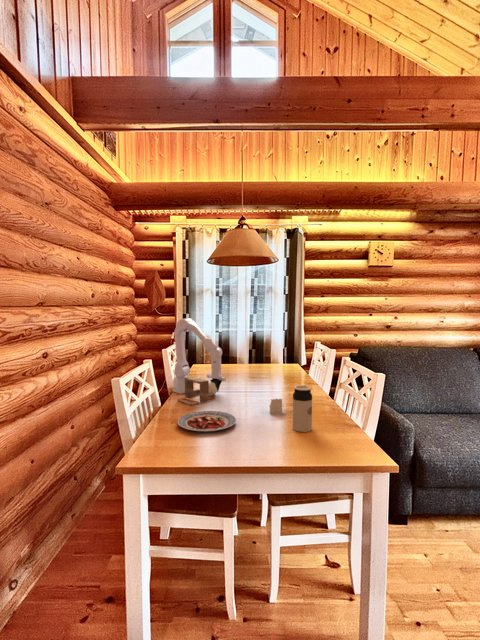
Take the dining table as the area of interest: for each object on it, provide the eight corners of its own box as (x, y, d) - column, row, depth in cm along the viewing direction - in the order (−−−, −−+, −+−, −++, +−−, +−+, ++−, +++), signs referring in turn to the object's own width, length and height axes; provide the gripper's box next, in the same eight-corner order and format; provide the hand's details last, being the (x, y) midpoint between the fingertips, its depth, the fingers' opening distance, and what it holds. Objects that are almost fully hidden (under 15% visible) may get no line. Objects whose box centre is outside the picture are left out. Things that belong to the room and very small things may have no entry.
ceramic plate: (189, 440, 139) (188, 432, 139) (170, 420, 162) (170, 414, 162) (246, 429, 151) (246, 422, 151) (221, 412, 174) (221, 406, 174)
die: (219, 396, 205) (212, 381, 208) (219, 392, 197) (212, 377, 201) (206, 402, 203) (199, 387, 206) (205, 398, 195) (199, 382, 199)
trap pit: (178, 401, 192) (178, 398, 192) (185, 399, 196) (185, 397, 196) (191, 405, 184) (191, 403, 184) (199, 403, 187) (199, 401, 187)
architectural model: (268, 412, 174) (268, 397, 174) (282, 411, 176) (282, 396, 175) (270, 414, 171) (270, 399, 171) (284, 413, 172) (284, 398, 172)
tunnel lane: (184, 397, 200) (184, 377, 199) (198, 394, 206) (198, 375, 206) (201, 402, 189) (201, 382, 188) (215, 399, 195) (214, 379, 195)
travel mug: (288, 428, 151) (289, 386, 150) (301, 424, 156) (302, 384, 155) (302, 434, 145) (303, 390, 144) (315, 429, 150) (316, 387, 149)
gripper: (229, 369, 203) (229, 392, 204) (213, 365, 213) (213, 388, 214) (220, 370, 198) (220, 394, 199) (204, 367, 208) (204, 390, 209)
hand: (216, 391), depth 206 cm, fingers closed
